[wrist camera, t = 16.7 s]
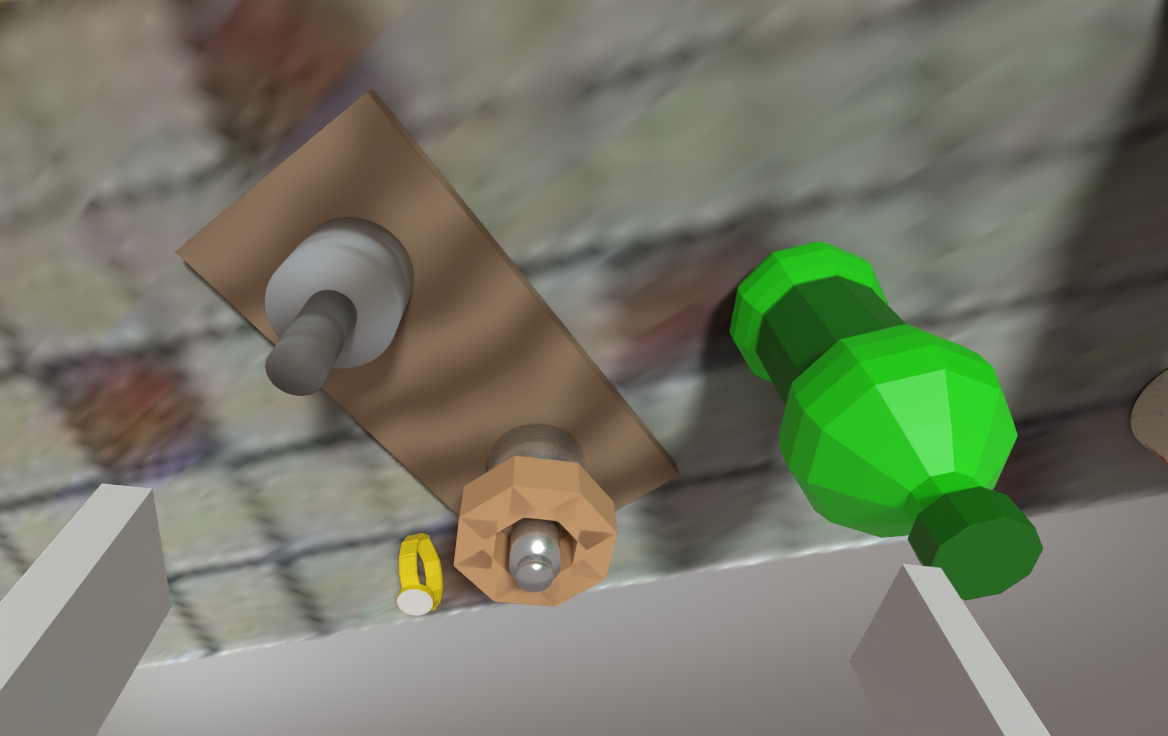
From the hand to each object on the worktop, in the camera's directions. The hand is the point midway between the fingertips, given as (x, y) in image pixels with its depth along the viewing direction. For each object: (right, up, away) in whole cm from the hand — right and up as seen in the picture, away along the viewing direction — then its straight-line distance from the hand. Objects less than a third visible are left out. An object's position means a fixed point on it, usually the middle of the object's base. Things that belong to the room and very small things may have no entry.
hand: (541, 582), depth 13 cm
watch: (-12, -11, +46) cm, 49 cm away
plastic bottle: (+15, +9, +36) cm, 40 cm away
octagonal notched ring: (-3, -6, +35) cm, 36 cm away
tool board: (-8, +4, +37) cm, 38 cm away
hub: (-3, -3, +40) cm, 40 cm away
